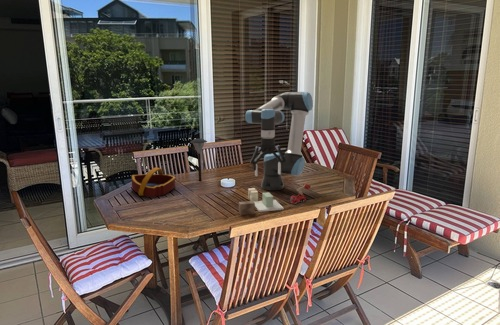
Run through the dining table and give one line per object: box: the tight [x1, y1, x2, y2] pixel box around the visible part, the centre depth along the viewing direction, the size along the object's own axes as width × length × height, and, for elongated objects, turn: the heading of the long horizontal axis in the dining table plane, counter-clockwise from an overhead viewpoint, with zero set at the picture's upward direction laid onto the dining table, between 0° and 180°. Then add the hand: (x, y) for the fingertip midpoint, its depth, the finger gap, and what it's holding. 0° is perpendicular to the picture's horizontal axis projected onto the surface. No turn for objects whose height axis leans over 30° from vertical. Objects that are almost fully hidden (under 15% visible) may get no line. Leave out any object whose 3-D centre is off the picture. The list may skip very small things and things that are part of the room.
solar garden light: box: [189, 138, 208, 182], centre depth 261 cm, size 12×12×30 cm
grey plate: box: [254, 199, 284, 213], centre depth 210 cm, size 15×14×1 cm
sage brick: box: [261, 191, 274, 207], centre depth 210 cm, size 8×4×6 cm, turn 14°
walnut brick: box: [238, 200, 256, 216], centre depth 200 cm, size 8×4×6 cm, turn 104°
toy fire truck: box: [289, 183, 311, 205], centre depth 217 cm, size 3×14×10 cm, turn 126°
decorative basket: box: [131, 167, 176, 198], centre depth 242 cm, size 34×29×15 cm
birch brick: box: [247, 187, 259, 202], centre depth 222 cm, size 8×4×6 cm, turn 14°
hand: (267, 174), depth 206 cm, fingers open, 13 cm apart
